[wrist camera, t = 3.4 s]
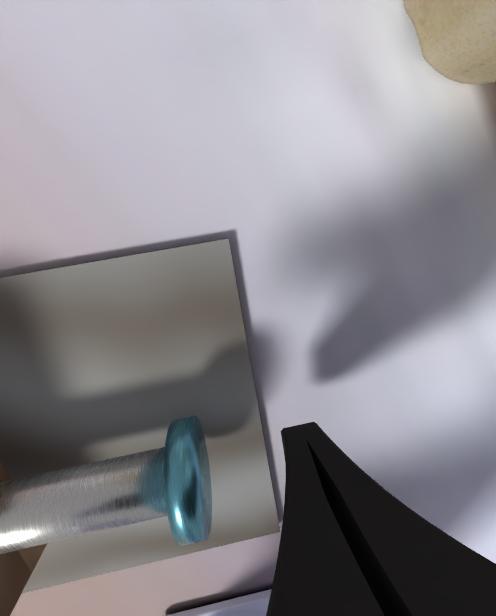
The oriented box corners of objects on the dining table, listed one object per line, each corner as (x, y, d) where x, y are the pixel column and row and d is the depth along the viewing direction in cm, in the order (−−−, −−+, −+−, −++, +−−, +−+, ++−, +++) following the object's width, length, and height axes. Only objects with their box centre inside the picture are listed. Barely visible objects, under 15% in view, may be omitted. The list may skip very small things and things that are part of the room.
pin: (212, 467, 13) (211, 569, 9) (-53, 525, 12) (-175, 663, 8) (193, 395, 12) (183, 479, 8) (-104, 455, 11) (-273, 580, 7)
